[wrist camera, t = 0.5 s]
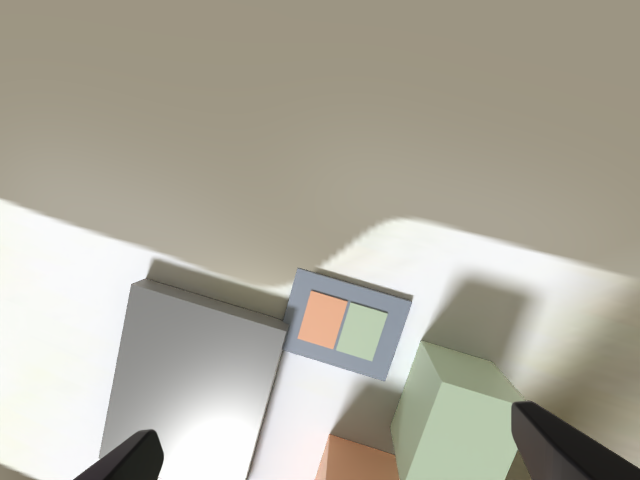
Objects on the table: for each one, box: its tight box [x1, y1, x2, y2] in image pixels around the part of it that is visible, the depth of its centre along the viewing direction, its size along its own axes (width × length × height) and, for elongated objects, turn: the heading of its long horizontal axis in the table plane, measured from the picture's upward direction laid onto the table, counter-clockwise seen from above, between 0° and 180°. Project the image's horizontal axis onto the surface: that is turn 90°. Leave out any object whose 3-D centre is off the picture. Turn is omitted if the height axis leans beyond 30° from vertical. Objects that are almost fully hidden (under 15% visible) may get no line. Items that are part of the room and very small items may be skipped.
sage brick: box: [390, 341, 526, 480], centre depth 20 cm, size 7×5×5 cm
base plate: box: [99, 278, 290, 480], centre depth 23 cm, size 14×11×2 cm
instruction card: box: [283, 268, 412, 381], centre depth 22 cm, size 6×8×1 cm
